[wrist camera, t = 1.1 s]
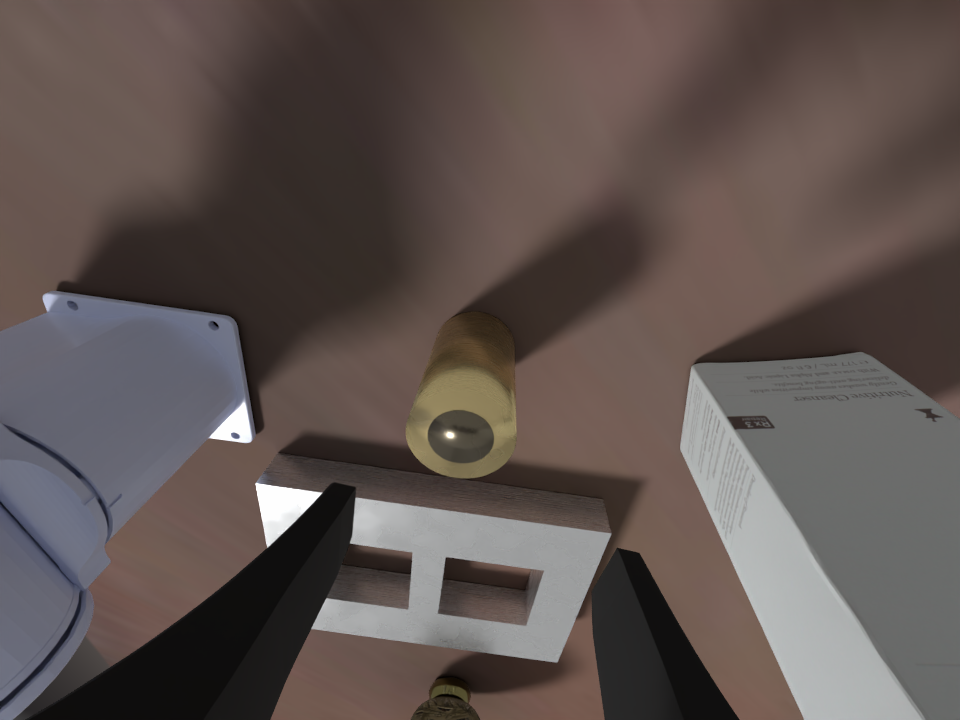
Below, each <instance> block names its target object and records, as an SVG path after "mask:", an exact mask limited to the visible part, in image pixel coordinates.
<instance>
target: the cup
mask: <svg viewBox="0 0 960 720" xmlns="http://www.w3.org/2000/svg"><path fill="white" fill-rule="evenodd" d="M470 698H471V694H470V690H469V687H468V685H467V684H466V683H465V682H463V681H462V680H460V679H457V678H453V677H444V678H440V679H437V680H436V681H434V683H433V684H432V686H431V688H430V690H429V699H430V700H427V701H426V702H424V703H423V704H421V705H420V706H419V707H418V709H417V710H416V711H415V713H414V714H413V716H412V718H411V720H480V718H479V716H478V714H477V713H476V711H475V710H474V709H473V708H472V706H470V705H469V702H470Z"/></svg>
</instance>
